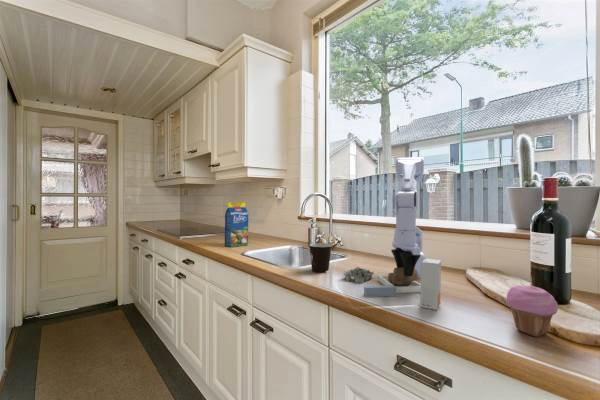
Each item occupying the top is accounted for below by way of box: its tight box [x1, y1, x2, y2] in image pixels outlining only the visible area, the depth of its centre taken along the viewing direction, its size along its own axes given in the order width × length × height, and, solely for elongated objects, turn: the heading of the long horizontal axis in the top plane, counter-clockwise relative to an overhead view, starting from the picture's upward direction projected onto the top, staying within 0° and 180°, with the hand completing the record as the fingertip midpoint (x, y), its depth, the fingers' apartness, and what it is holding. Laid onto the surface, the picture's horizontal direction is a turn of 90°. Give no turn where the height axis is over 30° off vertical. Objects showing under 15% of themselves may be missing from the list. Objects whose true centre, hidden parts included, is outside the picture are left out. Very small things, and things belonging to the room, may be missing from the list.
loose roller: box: [392, 267, 419, 282], centre depth 93 cm, size 6×4×4 cm
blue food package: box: [224, 202, 249, 248], centre depth 174 cm, size 6×12×25 cm, turn 137°
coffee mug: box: [309, 243, 333, 274], centre depth 118 cm, size 12×9×10 cm
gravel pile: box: [343, 266, 375, 284], centre depth 104 cm, size 11×8×4 cm
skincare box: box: [419, 258, 442, 311], centre depth 80 cm, size 6×4×12 cm
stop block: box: [363, 285, 397, 298], centre depth 87 cm, size 9×2×3 cm, turn 97°
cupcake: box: [506, 285, 559, 337], centre depth 65 cm, size 9×9×10 cm
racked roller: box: [387, 272, 411, 286], centre depth 97 cm, size 6×4×4 cm
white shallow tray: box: [377, 275, 421, 294], centre depth 96 cm, size 10×13×2 cm
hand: (404, 274), depth 93 cm, fingers closed on loose roller, 4 cm apart
